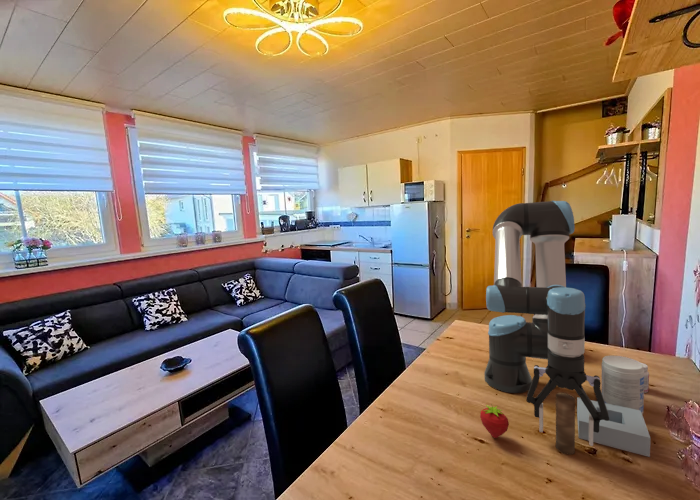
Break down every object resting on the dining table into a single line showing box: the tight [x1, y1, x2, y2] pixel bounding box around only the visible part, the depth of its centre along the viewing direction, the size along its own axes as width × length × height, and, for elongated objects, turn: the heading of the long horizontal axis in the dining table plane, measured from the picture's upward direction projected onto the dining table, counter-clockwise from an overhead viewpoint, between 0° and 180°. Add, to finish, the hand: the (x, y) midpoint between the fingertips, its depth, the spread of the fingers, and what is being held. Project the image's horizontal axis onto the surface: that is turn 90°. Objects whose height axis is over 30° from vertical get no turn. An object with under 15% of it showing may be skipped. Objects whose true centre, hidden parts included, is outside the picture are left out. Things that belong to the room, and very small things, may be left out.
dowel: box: [555, 392, 576, 456], centre depth 81 cm, size 4×4×14 cm
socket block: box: [576, 397, 651, 458], centre depth 86 cm, size 14×12×5 cm
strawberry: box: [479, 403, 510, 439], centre depth 87 cm, size 6×8×10 cm
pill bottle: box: [640, 362, 650, 394], centre depth 104 cm, size 5×5×8 cm
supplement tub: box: [601, 355, 645, 415], centre depth 95 cm, size 10×10×15 cm
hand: (565, 435), depth 82 cm, fingers open, 10 cm apart
